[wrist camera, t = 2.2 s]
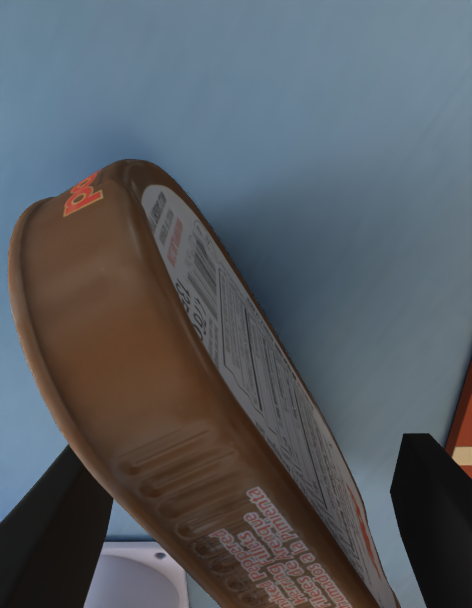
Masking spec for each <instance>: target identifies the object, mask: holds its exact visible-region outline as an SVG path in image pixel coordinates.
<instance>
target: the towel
mask: <svg viewBox="0 0 472 608" xmlns="http://www.w3.org/2000/svg"><path fill="white" fill-rule="evenodd" d="M445 451H446V452H447V453H448V454H449V455H450V456H451V457H452V458H453V460H454V461H455V462H456V463H457V464H458V465H459V466H460V467H461V468H462V469H463V470H464V471H465V472H466V473H467V475H468V476H469V477H470V478H471V479H472V360H471V364H470V367H469V371H468V374H467V377H466V381H465V384H464V387H463V391H462V394H461V397H460V401H459V404H458V407H457V411H456V414H455V417H454V421H453V424H452V427H451V431H450V434H449V438H448V441H447V444H446V448H445Z"/></svg>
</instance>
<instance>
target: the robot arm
mask: <svg viewBox="0 0 472 608" xmlns="http://www.w3.org/2000/svg"><path fill="white" fill-rule="evenodd" d="M390 494H391V498H392V502H393V507H394V511H395V515H396V519H397V523H398V527H399V531H400V535H401V538H402V541H403V544H404V547H405V549H406V552H407V555H408V558H409V560H410V563H411V566H412V569H413V572H414V574H415V577H416V580H417V582H418V585H419V588H420V591H421V593H422V596H423V599H424V601H425V604H426V607H427V608H472V479H471V478H470V477H469V476H468V475H467V473H466V472H465V471H464V470H463V469H462V468H461V467H460V466H459V465H458V464H457V463H456V462H455V461H454V460H453V458H452V457H451V456H450V455H449V454H448V453H447V452H446V451H445V450H444V449H443V448H442V447H441V445H440V444H439V443H438V442H437V441H436V440H435V439H434V438H433V437H432V436H431V435H430V434H429V433H405V434H403V438H402V442H401V446H400V450H399V455H398V459H397V463H396V468H395V472H394V476H393V480H392V485H391V489H390ZM113 499H114V498H113V497H112V496H111V495H110V494H109V493H108V492H107V491H106V490H105V489H104V488H103V487H102V486H101V485H100V484H99V483H98V481H97V480H96V479H95V478H94V477H93V475H92V474H91V473H90V472H89V471H88V470H87V468H86V467H85V466H84V464H83V463H82V462H81V460H80V459H79V458H78V456H77V455H76V454H75V452H74V451H73V450H72V448H71V447H70V445H69V444H68V445H67V447H66V448H65V449H64V450H63V451H62V453H61V454H60V455H59V456H58V458H57V459H56V460H55V461H54V462H53V464H52V465H51V466H50V467H49V468H48V470H47V471H46V472H45V473H44V474H43V475H42V477H41V478H40V479H39V480H38V481H37V483H36V484H35V485H34V486H33V487H32V488H31V489H30V491H29V492H28V493H27V494H26V495H25V496H24V497H23V498H22V500H21V501H20V502H19V503H18V504H17V505H16V506H15V508H14V509H13V510H12V511H11V512H10V513H9V514H8V515H7V516H6V517H5V519H4V520H3V521H2V522H1V523H0V608H190V607H189V598H188V589H187V579H186V571H185V570H184V569H183V568H182V567H181V566H180V565H179V564H178V563H177V562H176V561H175V560H174V559H173V558H172V557H171V556H170V555H169V554H168V553H167V552H166V551H165V550H164V549H163V548H162V547H161V546H160V545H159V544H158V543H157V542H104V541H105V537H106V534H107V529H108V524H109V520H110V515H111V509H112V504H113Z"/></svg>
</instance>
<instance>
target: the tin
mask: <svg viewBox="0 0 472 608" xmlns="http://www.w3.org/2000/svg"><path fill="white" fill-rule="evenodd" d="M8 288H9V297H10V305H11V310H12V316H13V319H14V322H15V326H16V330H17V333H18V336H19V340H20V344H21V347H22V349H23V352H24V354H25V357H26V360H27V363H28V366H29V368H30V370H31V372H32V375H33V378H34V380H35V383H36V385H37V387H38V389H39V391H40V393H41V395H42V398H43V400H44V402H45V404H46V406H47V407H48V409H49V411H50V413H51V414H52V417H53V419H54V421H55V423H56V425H57V426H58V428H59V430H60V431H61V433H62V434H63V435H64V437H65V438H66V440H67V441H68V443H69V445H70V447H71V448H72V450H73V451H74V452H75V454H76V455H77V456H78V458H79V459H80V460H81V462H82V463H83V464H84V466H85V467H86V468H87V470H88V471H89V472H90V473H91V474H92V475H93V477H94V478H95V479H96V480H97V481H98V483H99V484H100V485H101V486H102V487H103V488H104V489H105V490H106V491H107V492H108V493H109V494H110V495H111V496H112V497H113V498H114V499H115V501H116V502H117V503H118V504H119V505H121V506H122V507H123V508H124V509H125V510H126V511H127V512H128V513H129V514H130V515H131V516H132V517H133V518H134V519H135V520H136V521H137V522H138V523H139V524H140V525H141V526H142V527H143V528H144V529H145V530H146V531H147V532H148V533H149V534H150V535H151V536H152V537H153V538H154V539H155V541H156V542H157V543H158V544H159V545H160V546H161V547H162V548H163V549H164V550H165V551H166V552H167V553H168V554H169V555H170V556H171V557H172V558H173V559H174V560H175V561H176V562H177V563H178V564H179V565H180V566H181V567H182V568H183V569H184V570H185V571H186V572H187V573H188V574H189V575H190V576H191V577H192V578H193V579H194V580H195V581H196V582H197V583H198V584H199V585H200V586H201V587H202V588H203V589H204V590H205V591H206V592H207V593H208V594H209V595H210V596H211V597H212V598H213V599H214V600H215V601H216V602H217V604H218V605H219V606H220V607H221V608H401V606H400V604H399V601H398V600H397V598H396V595H395V593H394V591H393V590H392V588H391V587H390V585H389V584H388V581H387V578H386V576H385V573H384V570H383V568H382V565H381V562H380V559H379V555H378V552H377V550H376V547H375V544H374V541H373V538H372V536H371V533H370V529H369V526H368V521H367V515H366V510H365V506H364V502H363V500H362V497H361V494H360V492H359V489H358V487H357V485H356V482H355V480H354V478H353V476H352V474H351V471H350V469H349V467H348V465H347V463H346V461H345V459H344V457H343V455H342V452H341V450H340V448H339V446H338V444H337V442H336V440H335V438H334V436H333V434H332V432H331V430H330V428H329V427H328V425H327V423H326V421H325V419H324V417H323V415H322V414H321V412H320V410H319V408H318V406H317V405H316V403H315V401H314V399H313V398H312V396H311V394H310V393H309V391H308V389H307V387H306V386H305V384H304V382H303V380H302V378H301V377H300V375H299V373H298V371H297V370H296V368H295V366H294V365H293V363H292V361H291V359H290V357H289V356H288V354H287V352H286V350H285V348H284V347H283V345H282V343H281V341H280V340H279V338H278V336H277V334H276V333H275V331H274V329H273V328H272V326H271V324H270V323H269V321H268V319H267V317H266V316H265V314H264V312H263V311H262V309H261V307H260V306H259V304H258V302H257V301H256V299H255V297H254V296H253V294H252V292H251V291H250V289H249V287H248V286H247V284H246V282H245V281H244V279H243V278H242V276H241V274H240V273H239V271H238V269H237V268H236V266H235V264H234V263H233V261H232V259H231V258H230V256H229V254H228V253H227V251H226V249H225V248H224V246H223V245H222V243H221V242H220V240H219V239H218V237H217V236H216V234H215V233H214V231H213V230H212V228H211V227H210V225H209V224H208V222H207V221H206V219H205V218H204V216H203V215H202V214H201V212H200V211H199V209H198V208H197V207H196V205H195V204H194V202H193V201H192V200H191V198H190V197H189V196H188V195H187V194H186V193H185V191H184V190H183V189H182V188H181V187H180V186H179V184H178V183H177V182H176V181H175V180H174V179H173V178H172V177H171V176H169V175H168V174H167V173H166V172H165V171H164V170H163V169H161V168H160V167H159V166H157V165H155V164H153V163H151V162H148V161H144V160H136V159H125V160H120V161H116V162H114V163H112V164H110V165H108V166H106V167H104V168H102V169H101V170H99V171H97V172H95V173H94V174H92V175H91V176H89V177H88V178H86V179H84V180H83V181H81V182H80V183H78V184H77V185H75V186H73V187H72V188H70V189H69V190H67V191H66V192H64V193H62V194H60V195H59V196H57V197H50V198H46V199H42V200H40V201H37V202H35V203H33V204H32V205H31V206H29V207H28V208H27V209H26V210H25V211H24V212H23V213H22V214H21V216H20V217H19V219H18V221H17V223H16V225H15V227H14V229H13V233H12V236H11V239H10V245H9V251H8Z"/></svg>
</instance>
